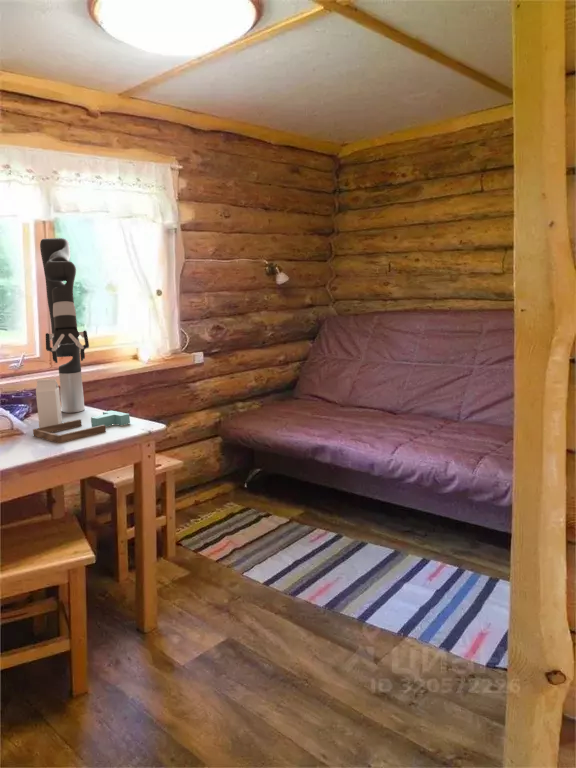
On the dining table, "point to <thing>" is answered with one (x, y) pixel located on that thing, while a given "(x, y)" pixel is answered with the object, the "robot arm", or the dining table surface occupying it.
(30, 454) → the dining table surface
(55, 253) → the robot arm
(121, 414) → the T-block
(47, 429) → the bay
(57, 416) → the milk carton
